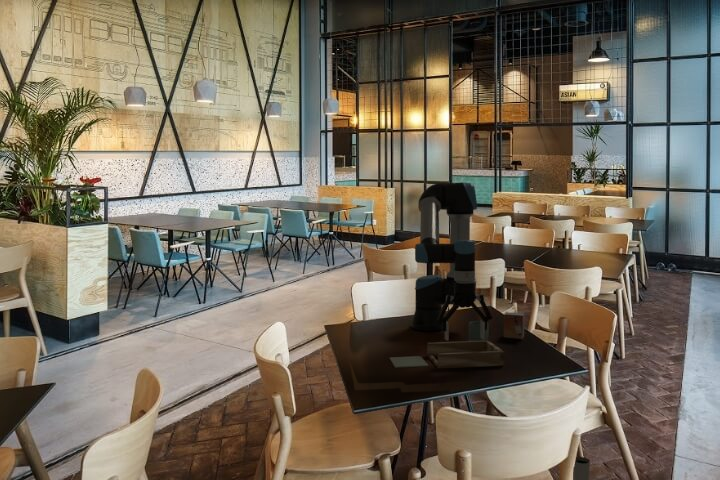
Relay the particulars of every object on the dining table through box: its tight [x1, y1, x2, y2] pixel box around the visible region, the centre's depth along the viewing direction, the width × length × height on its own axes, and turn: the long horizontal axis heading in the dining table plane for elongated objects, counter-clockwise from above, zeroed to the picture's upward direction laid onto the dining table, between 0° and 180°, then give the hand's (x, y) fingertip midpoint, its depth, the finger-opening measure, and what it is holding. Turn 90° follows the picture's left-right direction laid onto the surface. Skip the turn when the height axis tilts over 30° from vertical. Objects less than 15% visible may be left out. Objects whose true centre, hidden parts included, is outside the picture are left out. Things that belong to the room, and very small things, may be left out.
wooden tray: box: [426, 339, 505, 369], centre depth 219 cm, size 17×24×5 cm
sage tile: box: [389, 355, 429, 369], centre depth 218 cm, size 12×12×1 cm
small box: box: [503, 311, 526, 340], centre depth 252 cm, size 8×6×10 cm
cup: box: [468, 320, 490, 341], centre depth 237 cm, size 8×8×10 cm
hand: (464, 339), depth 218 cm, fingers open, 13 cm apart
